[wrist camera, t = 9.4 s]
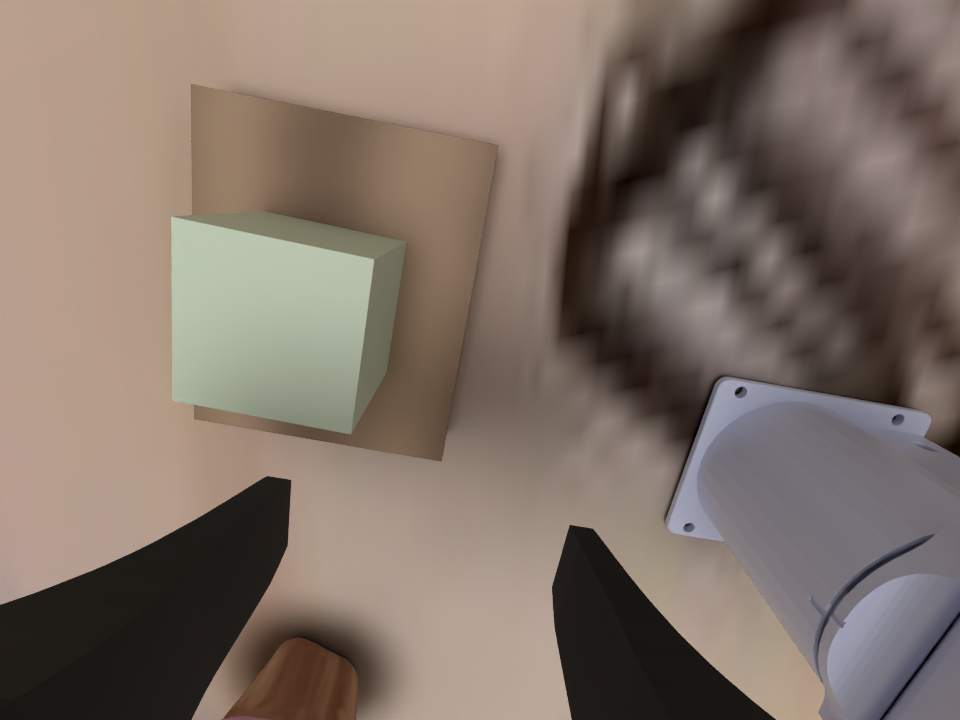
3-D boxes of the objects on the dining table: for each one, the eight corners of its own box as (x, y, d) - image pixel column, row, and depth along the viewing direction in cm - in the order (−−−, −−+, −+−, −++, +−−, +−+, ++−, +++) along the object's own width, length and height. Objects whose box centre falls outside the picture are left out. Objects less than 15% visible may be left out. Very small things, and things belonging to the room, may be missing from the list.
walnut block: (497, 153, 18) (498, 145, 16) (447, 427, 22) (441, 461, 19) (237, 102, 18) (190, 84, 15) (232, 390, 22) (194, 419, 19)
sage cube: (406, 241, 17) (374, 259, 12) (386, 372, 18) (351, 434, 13) (263, 211, 16) (171, 216, 12) (255, 346, 18) (172, 400, 13)
